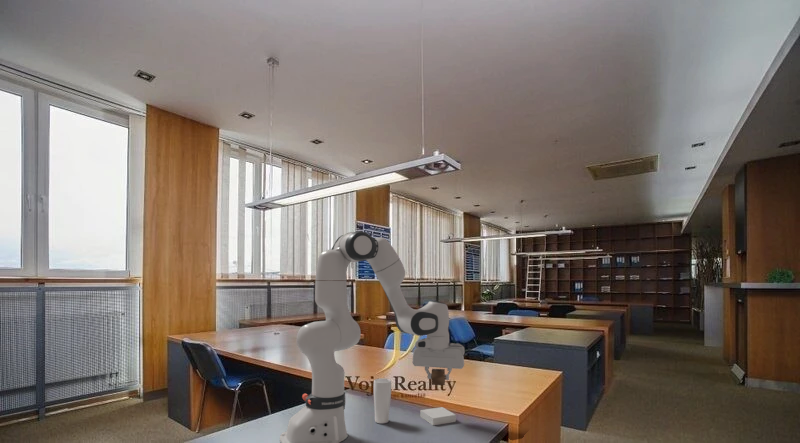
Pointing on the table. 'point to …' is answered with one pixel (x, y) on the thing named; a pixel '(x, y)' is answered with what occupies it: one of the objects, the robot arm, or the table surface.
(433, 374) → the walnut cube
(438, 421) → the grey tile
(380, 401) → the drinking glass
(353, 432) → the table surface
